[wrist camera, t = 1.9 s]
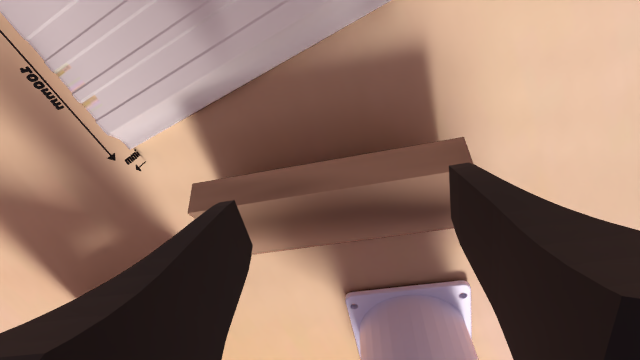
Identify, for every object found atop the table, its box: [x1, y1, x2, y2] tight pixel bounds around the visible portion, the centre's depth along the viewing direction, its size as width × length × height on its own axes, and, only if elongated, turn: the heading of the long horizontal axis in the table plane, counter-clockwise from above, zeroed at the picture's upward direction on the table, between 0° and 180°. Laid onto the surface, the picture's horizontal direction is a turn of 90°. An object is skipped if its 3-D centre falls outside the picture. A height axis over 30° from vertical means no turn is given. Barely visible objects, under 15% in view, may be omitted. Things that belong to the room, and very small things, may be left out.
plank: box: [188, 137, 473, 255], centre depth 17 cm, size 6×12×2 cm
